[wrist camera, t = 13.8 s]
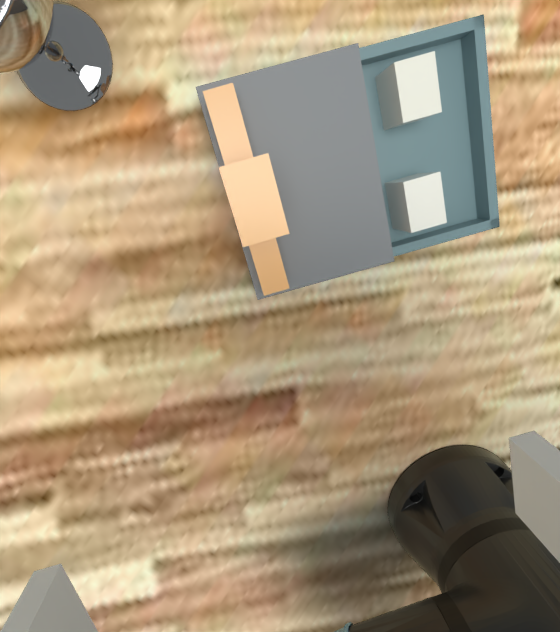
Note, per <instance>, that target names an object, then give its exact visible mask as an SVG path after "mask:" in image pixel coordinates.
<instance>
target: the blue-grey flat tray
mask: <svg viewBox="0 0 560 632" xmlns="http://www.w3.org/2000/svg"><path fill="white" fill-rule="evenodd" d="M433 51H435V57H436V66H437V74H438V82H439V91H440V99H441V107H442V112H441V113H438V114H435V115H432V116H430V117H427V118H424V119H422V120H419V121H416V122H412V123H409V124H405V125H402V126H398V127H395V128H391V129H388V130H384V128H383V122H382V116H381V110H380V104H379V98H378V91H377V85H376V79H375V77H376V76H378V75H379V74H380V73H381V72H383V71H384V70H385V69H386V68H388V67H389V66H390V65H391V64H393V63H394V62H397V61H401V60H404V59H408V58H411V57H415V56H418V55H422V54H426V53H429V52H433ZM359 52H360V58H361V64H362V70H363V76H364V82H365V88H366V94H367V100H368V106H369V112H370V118H371V124H372V130H373V136H374V142H375V148H376V154H377V160H378V166H379V172H380V178H381V184H382V190H383V196H384V202H385V208H386V214H387V220H388V226H389V232H390V238H391V244H392V250H393V256H397V255H401V254H404V253H408V252H411V251H415V250H419V249H422V248H426V247H429V246H433V245H436V244H440V243H443V242H447V241H450V240H454V239H458V238H461V237H465V236H468V235H472V234H475V233H479V232H482V231H486V230H489V229H493V228H496V227H499V213H498V200H497V187H496V173H495V160H494V147H493V133H492V120H491V106H490V93H489V80H488V66H487V53H486V40H485V26H484V15H480V16H476V17H473V18H469V19H465V20H462V21H458V22H454V23H451V24H447V25H443V26H439V27H436V28H432V29H428V30H425V31H421V32H417V33H414V34H410V35H406V36H403V37H399V38H395V39H391V40H388V41H384V42H380V43H377V44H373V45H369V46H366V47H362V48H359ZM428 172H441V180H442V188H443V196H444V204H445V211H446V219H447V223H444V224H441V225H437V226H434V227H430V228H427V229H423V230H420V231H417V232H413V233H409V232H405V231H401V230H397V229H393V228H392V222H391V216H390V210H389V205H388V199H387V193H386V187H385V183H386V182H390V181H393V180H397V179H400V178H403V177H407V176H410V175H414V174H417V173H428Z"/></svg>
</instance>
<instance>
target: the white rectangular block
mask: <svg viewBox="0 0 560 632" xmlns="http://www.w3.org/2000/svg"><path fill="white" fill-rule="evenodd" d="M375 79H376V85H377V91H378V98H379V104H380V110H381V116H382V122H383V128H384V130H388V129H391V128H395V127H398V126H402V125H405V124H409V123H412V122H416V121H419V120H422V119H424V118H427V117H430V116H432V115H435V114H438V113H441V112H442V107H441V99H440V91H439V82H438V74H437V66H436V57H435V51H433V52H429V53H426V54H422V55H418V56H415V57H411V58H408V59H404V60H401V61H397V62H394V63H393V64H391V65H390V66H389V67H388V68H386V69H385V70H384V71H383V72H381V73H380V74H379V75H378V76H376V77H375Z"/></svg>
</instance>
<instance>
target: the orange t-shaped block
mask: <svg viewBox="0 0 560 632" xmlns="http://www.w3.org/2000/svg"><path fill="white" fill-rule="evenodd" d="M203 94H204V98H205V101H206V104H207V108H208V111H209V114H210V118H211V121H212V124H213V128H214V131H215V134H216V138H217V141H218V144H219V148H220V151H221V154H222V158H223V161H224V164H225V166H221V167H219V170H220V174H221V177H222V180H223V183H224V187H225V190H226V193H227V197H228V200H229V203H230V206H231V210H232V213H233V216H234V219H235V223H236V226H237V229H238V233H239V236H240V239H241V242H242V246H243V247H246V246H249V248H250V251H251V254H252V258H253V261H254V264H255V268H256V271H257V274H258V278H259V281H260V284H261V288H262V291H263V294H264V296H266V295H269V294H272V293H276V292H279V291H282V290H286V289H289V284H288V280H287V277H286V273H285V270H284V266H283V262H282V259H281V255H280V251H279V248H278V244H277V241H276V238H277V237H280V236H283V235H287V234H290V233H289V230H288V226H287V222H286V218H285V214H284V211H283V207H282V203H281V199H280V195H279V192H278V188H277V184H276V180H275V176H274V173H273V169H272V165H271V161H270V158H269V154H268V153H266V154H263V155H259V156H256V157H253V154H252V150H251V146H250V143H249V139H248V135H247V132H246V128H245V125H244V121H243V117H242V114H241V110H240V106H239V103H238V99H237V96H236V92H235V88H234V85H233V83H229V84H226V85H223V86H219V87H216V88H212V89H209V90H205V91H203Z"/></svg>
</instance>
